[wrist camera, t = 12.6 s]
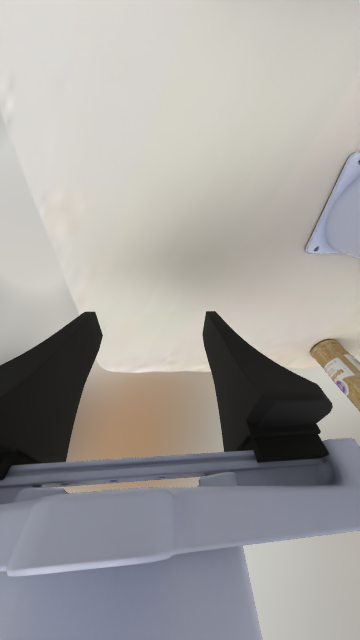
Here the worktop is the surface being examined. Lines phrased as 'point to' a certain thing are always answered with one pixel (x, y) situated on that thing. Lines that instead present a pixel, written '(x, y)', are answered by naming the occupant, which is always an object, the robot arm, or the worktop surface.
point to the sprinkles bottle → (340, 368)
